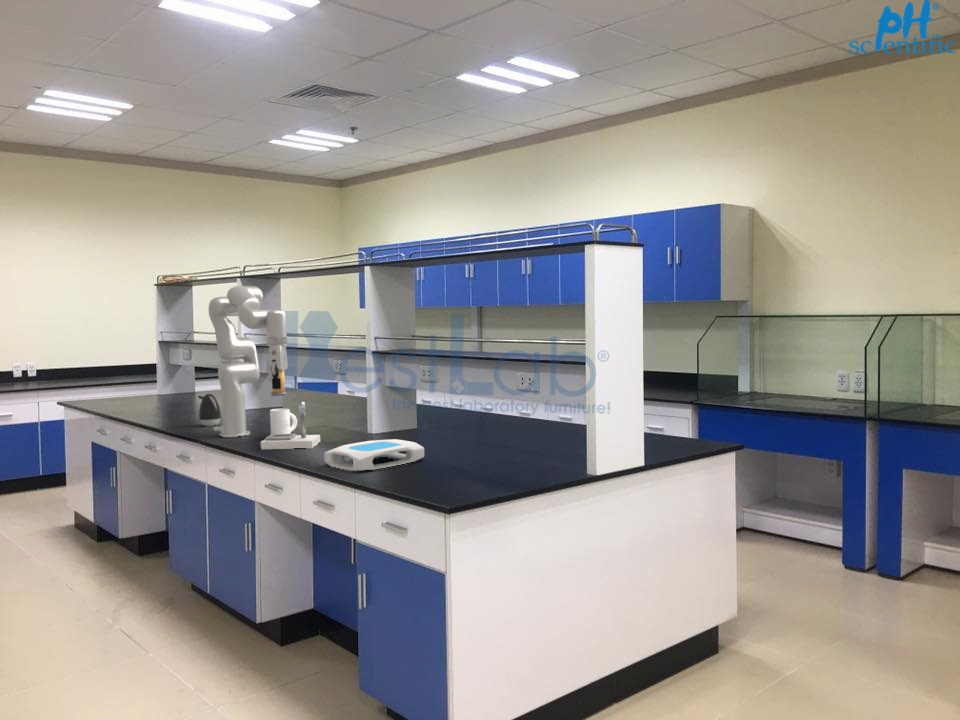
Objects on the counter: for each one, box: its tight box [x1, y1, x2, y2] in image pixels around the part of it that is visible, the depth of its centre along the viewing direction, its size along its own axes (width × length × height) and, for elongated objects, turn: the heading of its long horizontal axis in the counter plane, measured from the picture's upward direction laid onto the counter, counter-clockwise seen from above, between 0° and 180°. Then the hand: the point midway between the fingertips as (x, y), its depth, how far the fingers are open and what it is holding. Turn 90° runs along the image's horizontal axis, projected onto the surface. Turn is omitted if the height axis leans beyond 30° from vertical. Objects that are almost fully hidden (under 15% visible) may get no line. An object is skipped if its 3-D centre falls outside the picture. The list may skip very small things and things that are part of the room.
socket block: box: [260, 433, 321, 450], centre depth 311 cm, size 20×14×4 cm
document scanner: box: [323, 438, 425, 472], centre depth 272 cm, size 21×28×6 cm
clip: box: [298, 401, 307, 438], centre depth 304 cm, size 14×2×14 cm, turn 12°
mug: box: [269, 407, 298, 435], centre depth 331 cm, size 8×12×12 cm
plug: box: [270, 370, 287, 397], centre depth 309 cm, size 6×6×10 cm
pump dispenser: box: [198, 393, 222, 427], centre depth 371 cm, size 10×10×15 cm
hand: (278, 387), depth 309 cm, fingers closed on plug, 4 cm apart
